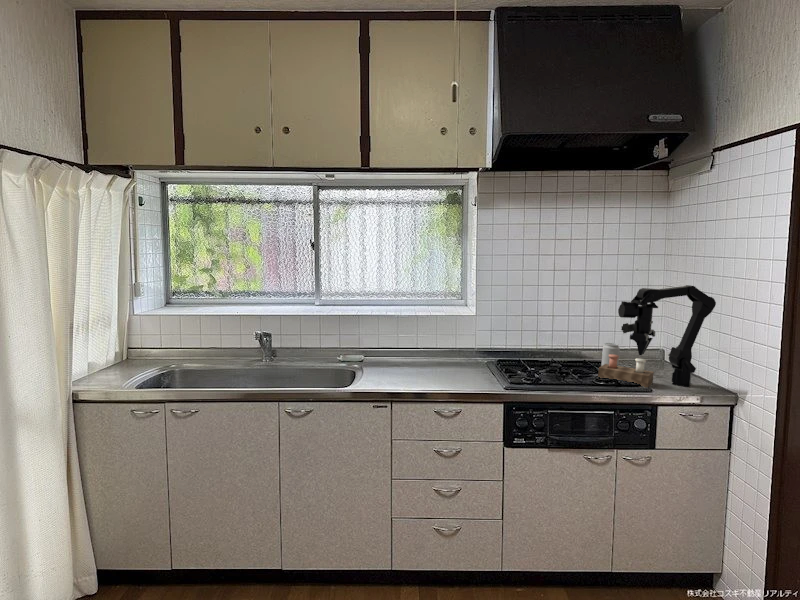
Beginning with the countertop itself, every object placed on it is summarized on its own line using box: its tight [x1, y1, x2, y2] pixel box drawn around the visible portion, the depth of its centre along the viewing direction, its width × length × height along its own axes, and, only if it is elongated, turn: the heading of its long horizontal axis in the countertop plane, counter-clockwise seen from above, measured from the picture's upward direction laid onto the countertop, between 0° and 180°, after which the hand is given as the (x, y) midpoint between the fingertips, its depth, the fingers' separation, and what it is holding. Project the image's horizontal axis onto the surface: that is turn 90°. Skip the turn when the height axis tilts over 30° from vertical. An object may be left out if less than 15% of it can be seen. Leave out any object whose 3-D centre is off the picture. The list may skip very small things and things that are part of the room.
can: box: [600, 342, 621, 367], centre depth 246 cm, size 8×8×12 cm
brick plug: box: [609, 354, 620, 369], centre depth 226 cm, size 4×4×6 cm
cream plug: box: [635, 358, 647, 374], centre depth 219 cm, size 4×4×6 cm
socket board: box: [597, 364, 655, 389], centre depth 223 cm, size 20×10×5 cm, turn 53°
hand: (641, 354), depth 219 cm, fingers open, 3 cm apart
